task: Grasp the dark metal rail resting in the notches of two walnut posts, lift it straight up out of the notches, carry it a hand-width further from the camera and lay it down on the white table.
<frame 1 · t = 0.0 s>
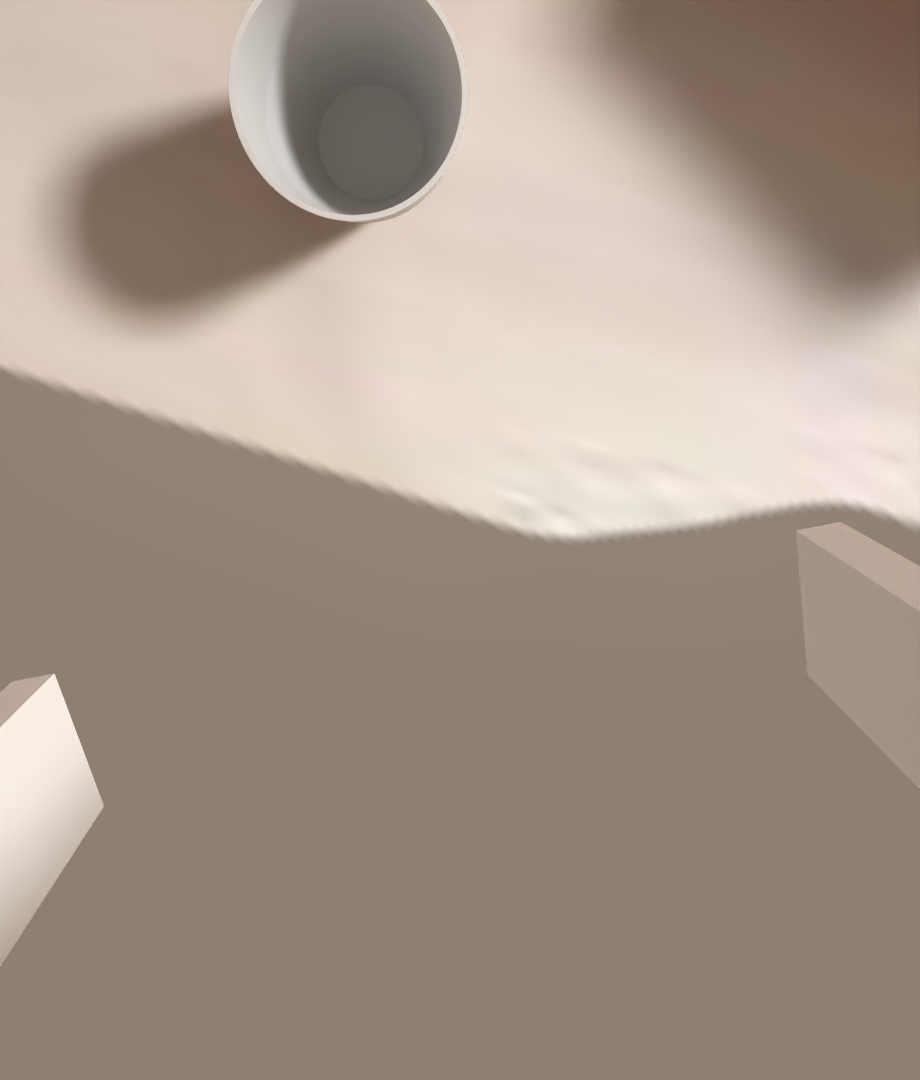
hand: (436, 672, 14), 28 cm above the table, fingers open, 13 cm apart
cup: (371, 145, 38), on the table
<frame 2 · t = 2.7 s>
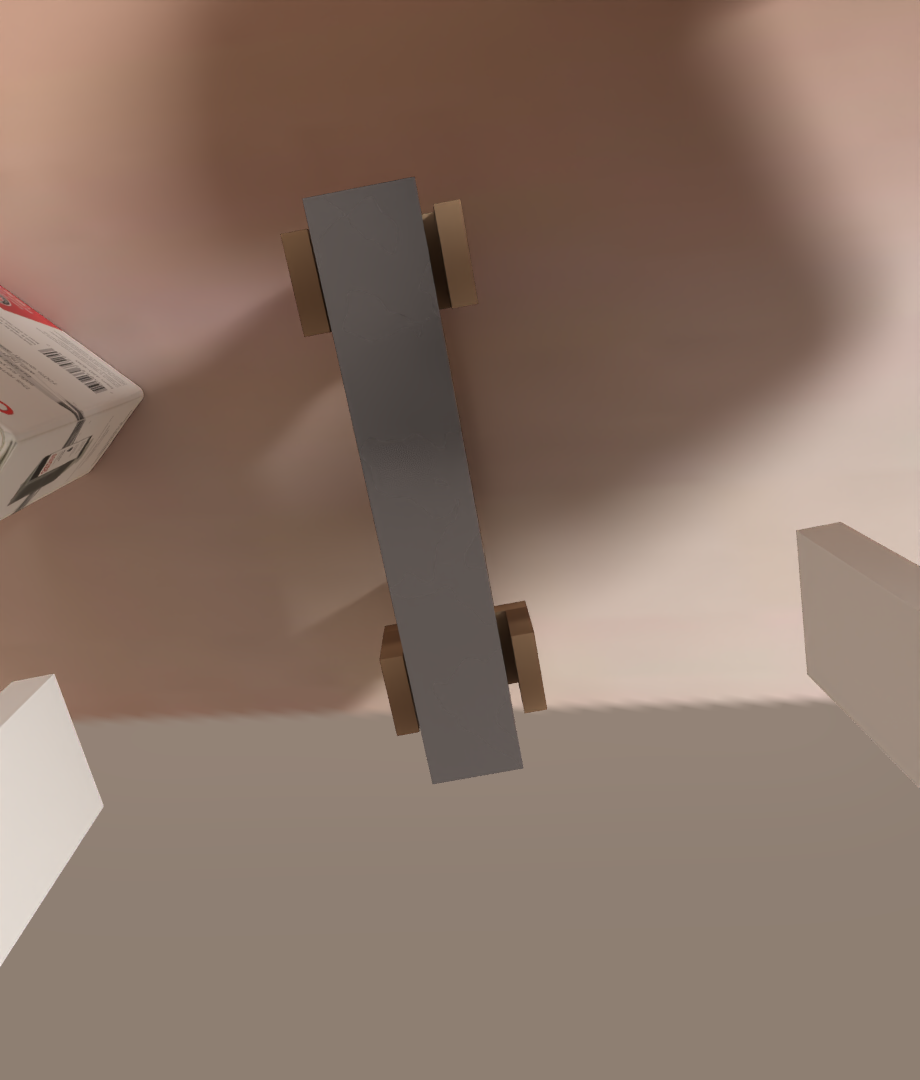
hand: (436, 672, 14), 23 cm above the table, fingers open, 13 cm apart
ink box: (36, 373, 35), on the table
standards: (428, 439, 36), on the table
rail: (426, 477, 29), point 8 cm above the table, touching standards
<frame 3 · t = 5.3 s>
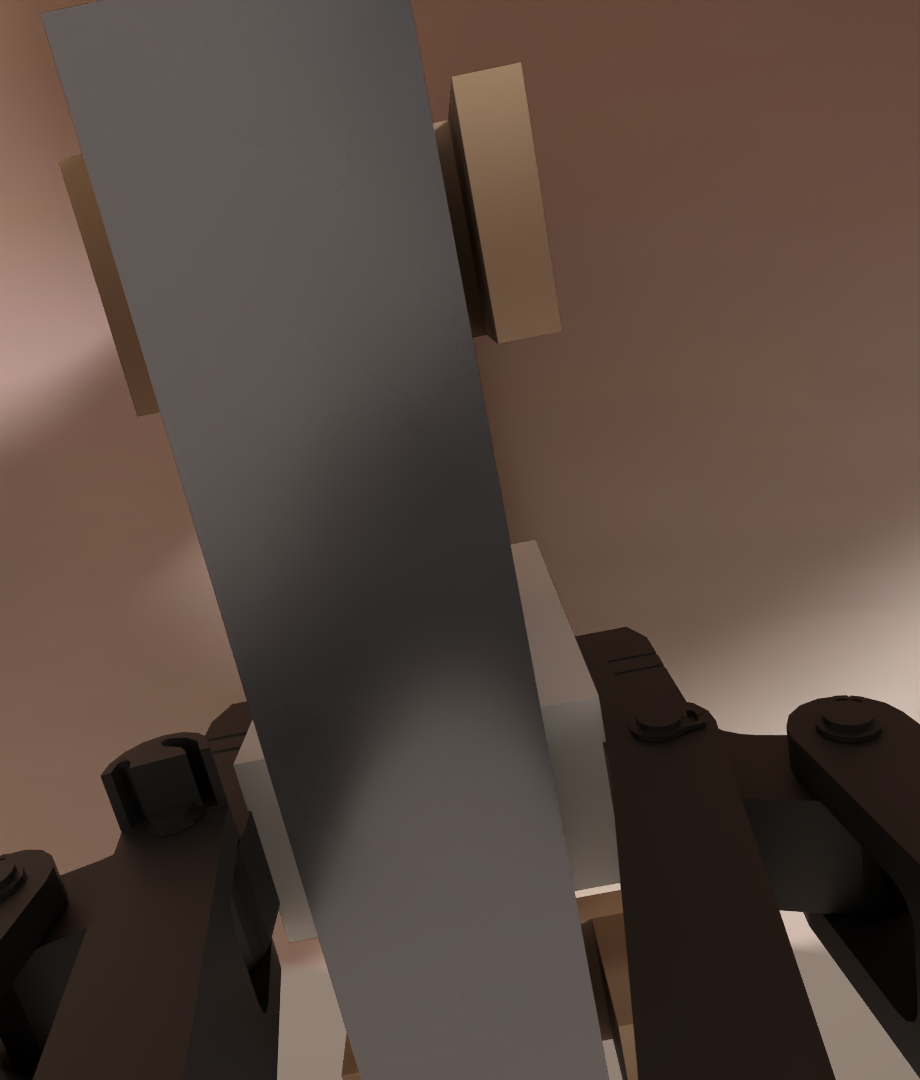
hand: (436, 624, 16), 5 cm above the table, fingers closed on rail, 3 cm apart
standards: (435, 548, 21), on the table
rail: (436, 680, 14), point 8 cm above the table, touching gripper, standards
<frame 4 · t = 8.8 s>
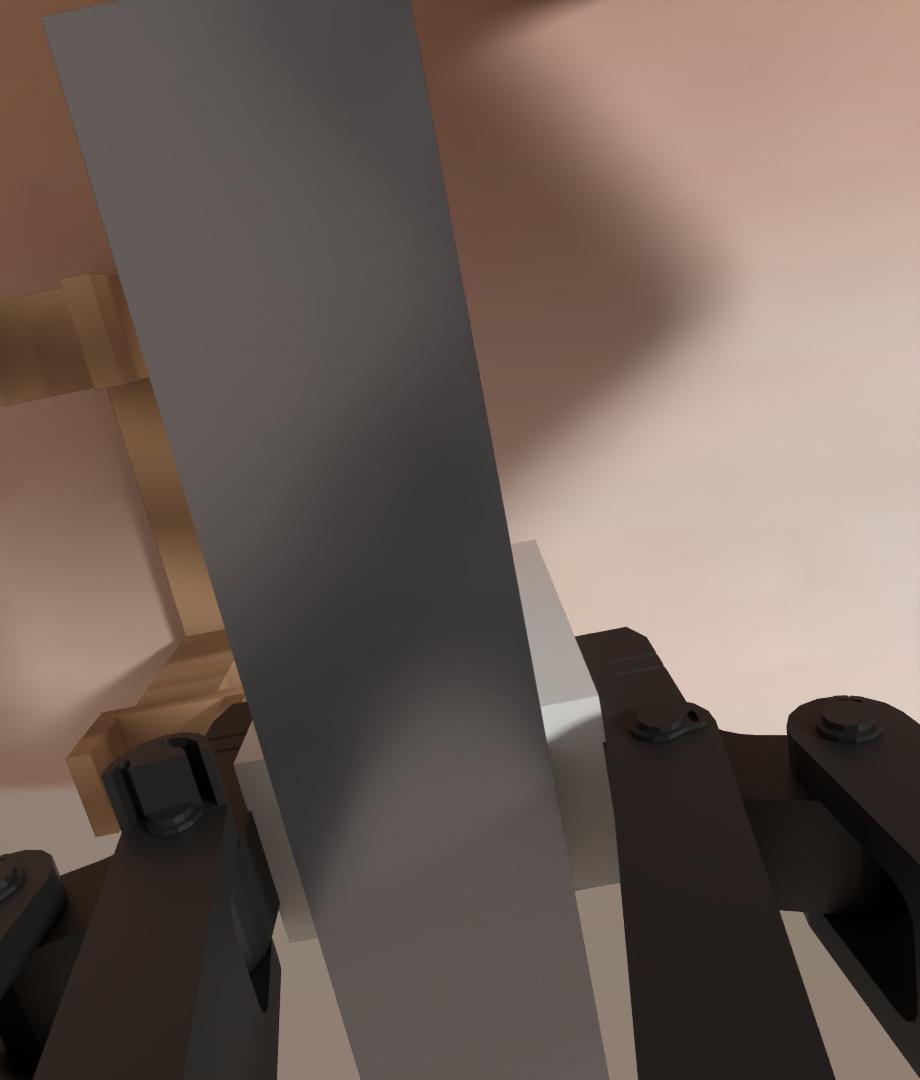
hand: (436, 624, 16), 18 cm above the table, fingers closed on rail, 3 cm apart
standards: (188, 502, 34), on the table
rail: (436, 682, 14), point 21 cm above the table, touching gripper
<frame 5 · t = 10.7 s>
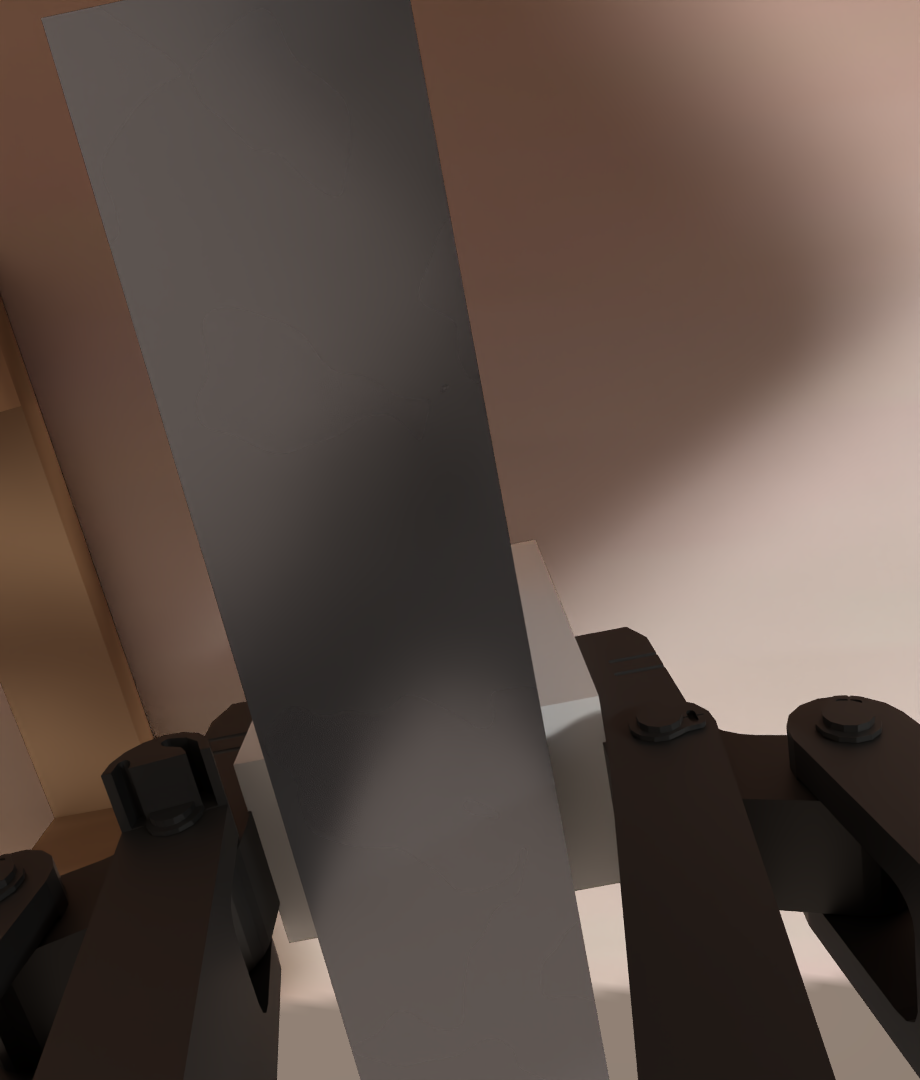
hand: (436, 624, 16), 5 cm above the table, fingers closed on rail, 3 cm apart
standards: (53, 616, 22), on the table
rail: (437, 682, 14), point 8 cm above the table, touching gripper
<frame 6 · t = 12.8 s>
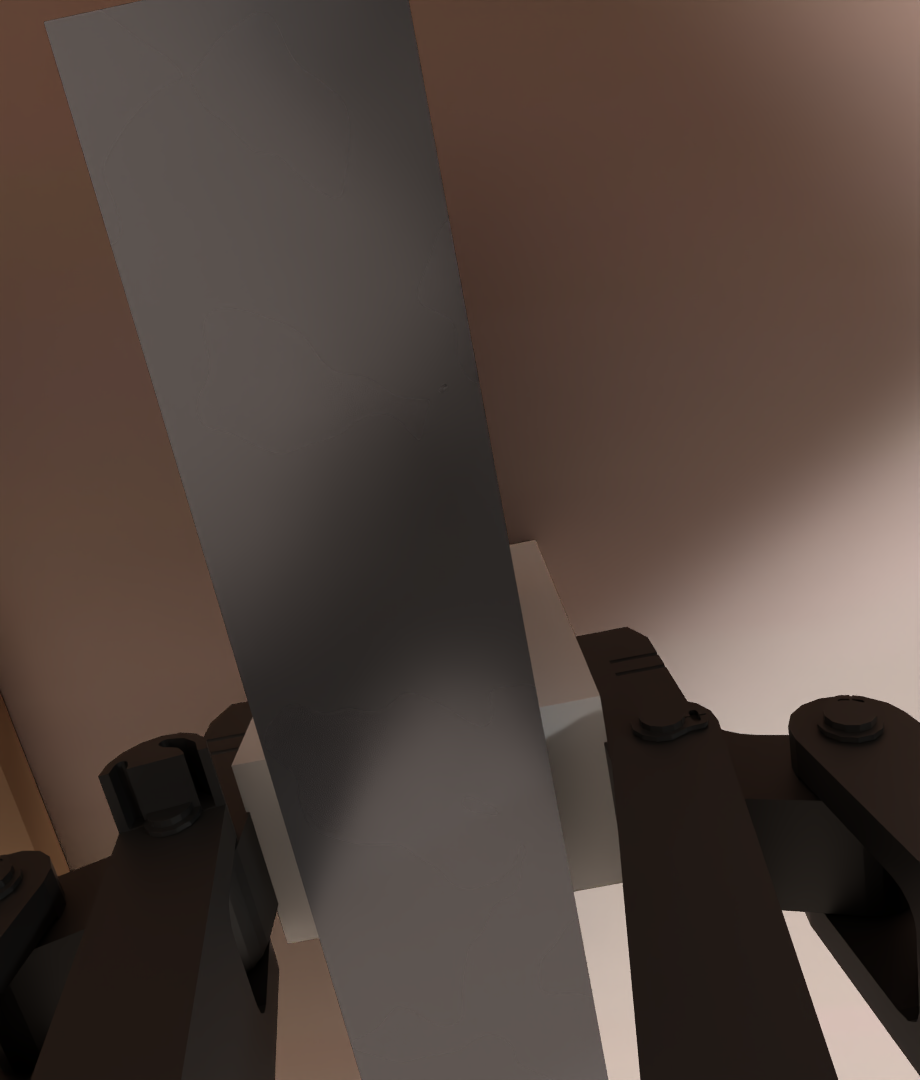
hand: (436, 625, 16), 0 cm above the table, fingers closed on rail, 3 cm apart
rail: (437, 681, 14), point 2 cm above the table, touching gripper
when the fingers open (0 cm above the table, at t = 13.8 s): rail drops 2 cm, on the table.
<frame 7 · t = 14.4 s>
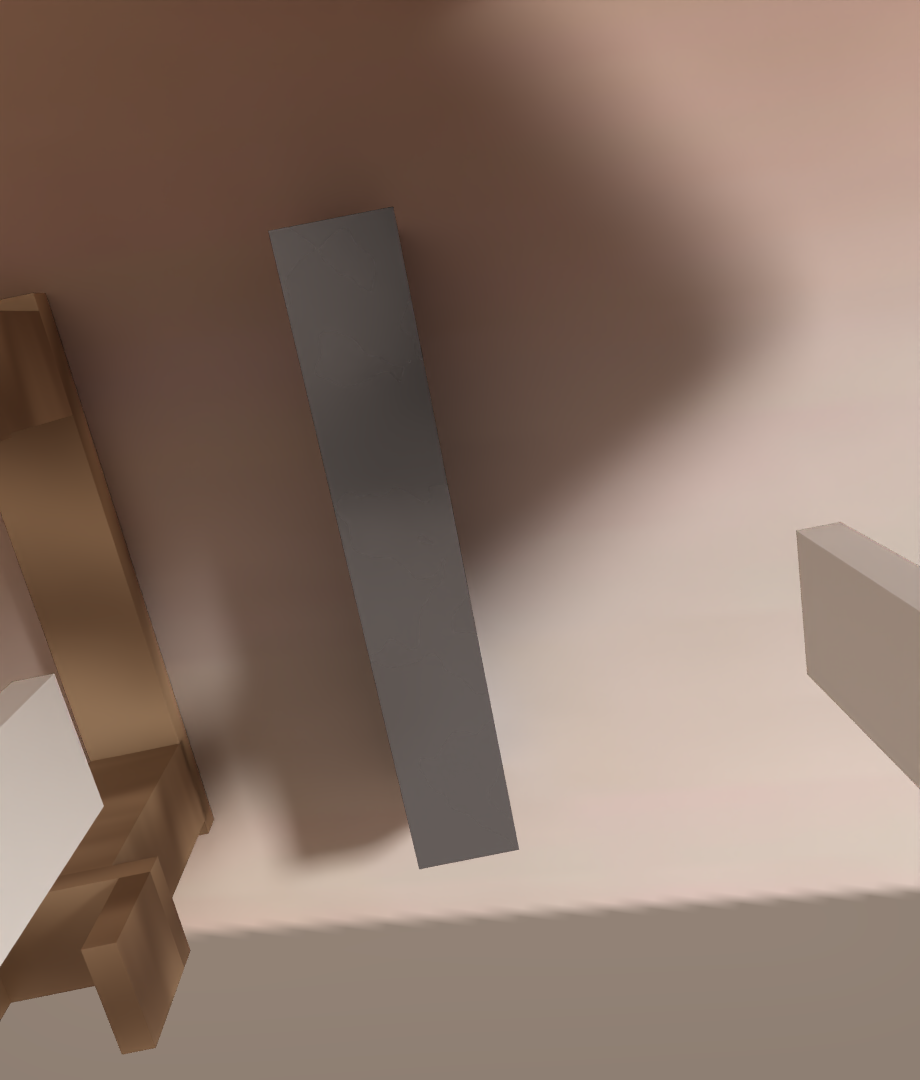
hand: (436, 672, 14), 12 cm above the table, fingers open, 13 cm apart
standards: (91, 590, 26), on the table
rail: (408, 527, 27), on the table
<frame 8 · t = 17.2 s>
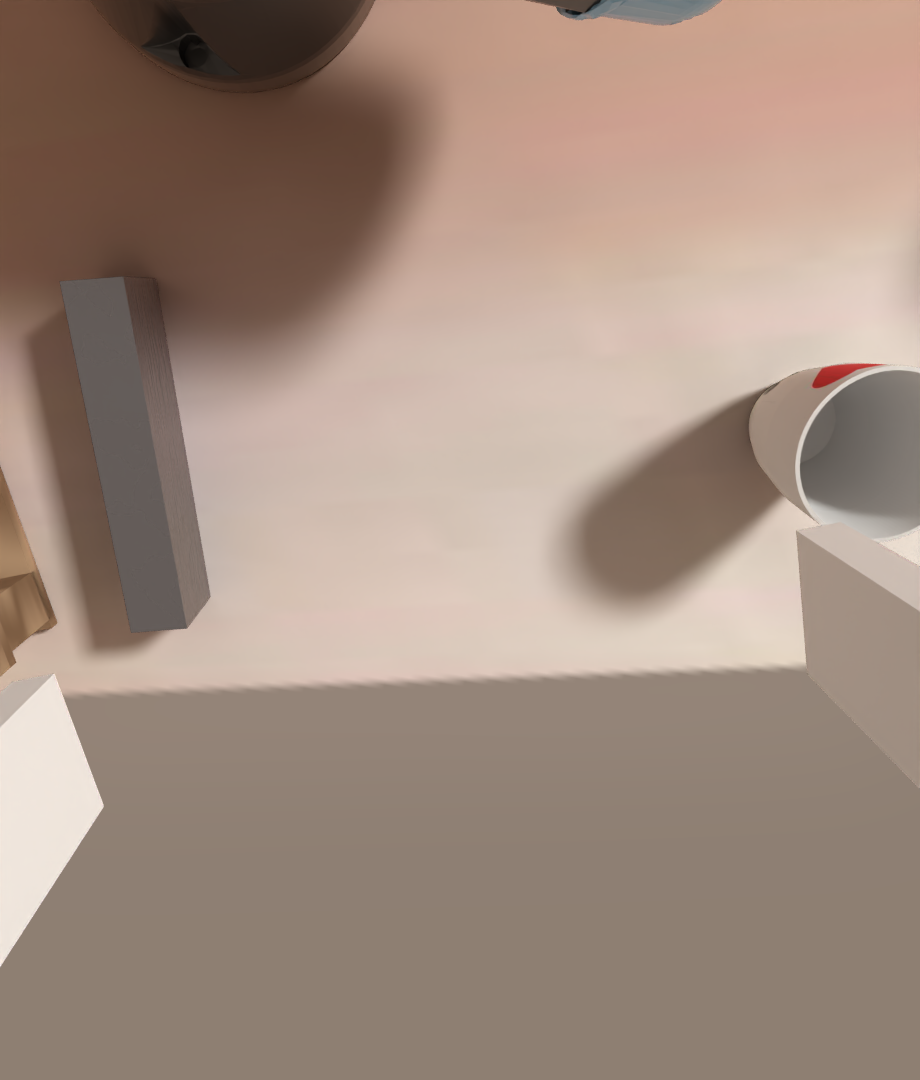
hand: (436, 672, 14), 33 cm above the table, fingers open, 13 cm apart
cup: (790, 423, 47), on the table
rail: (159, 448, 46), on the table
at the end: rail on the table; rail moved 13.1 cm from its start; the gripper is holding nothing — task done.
